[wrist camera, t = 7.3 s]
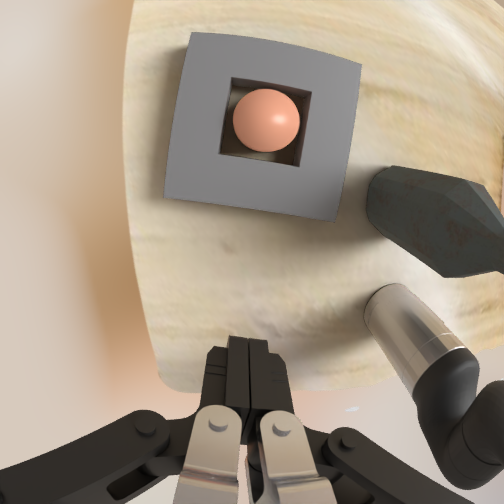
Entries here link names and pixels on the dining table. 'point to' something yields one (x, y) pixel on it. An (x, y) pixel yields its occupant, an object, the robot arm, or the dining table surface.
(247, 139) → the button cap
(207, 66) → the button box
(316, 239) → the dining table surface
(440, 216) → the bottle
